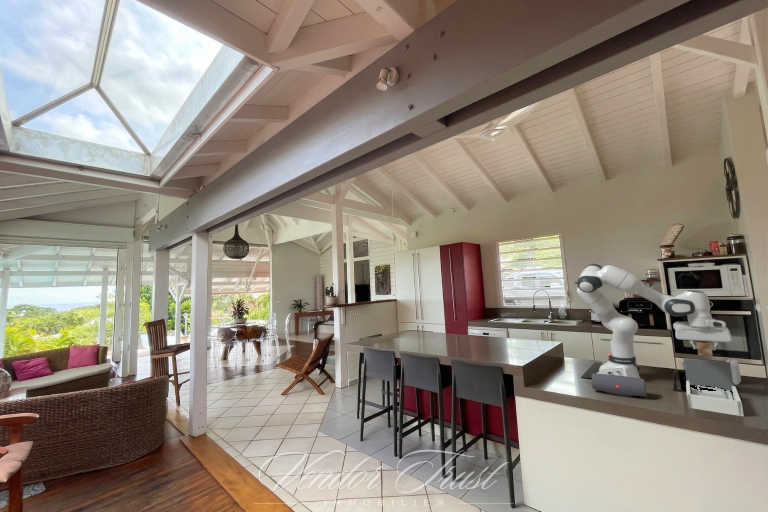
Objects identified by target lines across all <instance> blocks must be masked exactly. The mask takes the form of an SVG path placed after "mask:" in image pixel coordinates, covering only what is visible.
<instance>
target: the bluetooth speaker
mask: <svg viewBox="0 0 768 512" xmlns="http://www.w3.org/2000/svg"><path fill="white" fill-rule="evenodd" d="M591 385H592V389H593V390H594V391H600V392H606V393H607V394H608V393H609V394H608V395H613V394H616V395H615V396H620V395H623V397H629V396H631V397H632V396H638V397H639V396H640V397H647V390H646V383H645V378H641V377H640V378H634V377H627V376H619V375H609V374H596V373H591Z"/></svg>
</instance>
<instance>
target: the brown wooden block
mask: <svg viewBox="0 0 768 512" xmlns="http://www.w3.org/2000/svg"><path fill="white" fill-rule="evenodd" d="M695 341H696V345H697V349H696V350H697V355H698V356H702V357H713V356H714V355H713V350H712V348H711V346H712V344H711V341H698V340H695Z"/></svg>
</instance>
